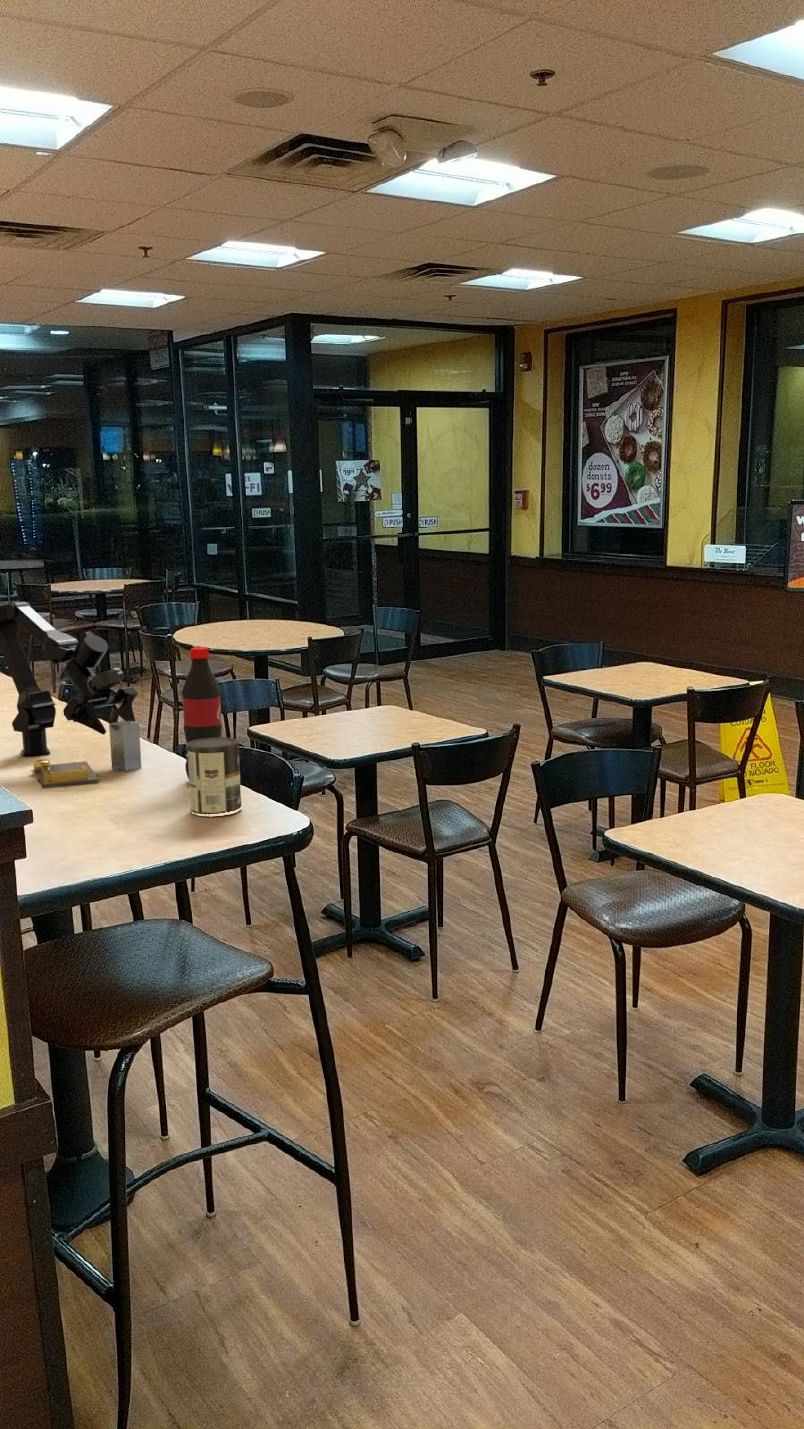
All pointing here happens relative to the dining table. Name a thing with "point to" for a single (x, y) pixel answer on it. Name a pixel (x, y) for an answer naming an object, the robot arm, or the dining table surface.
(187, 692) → the cola bottle
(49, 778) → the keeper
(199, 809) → the coffee can
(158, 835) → the dining table surface
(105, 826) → the dining table surface
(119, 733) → the link block
